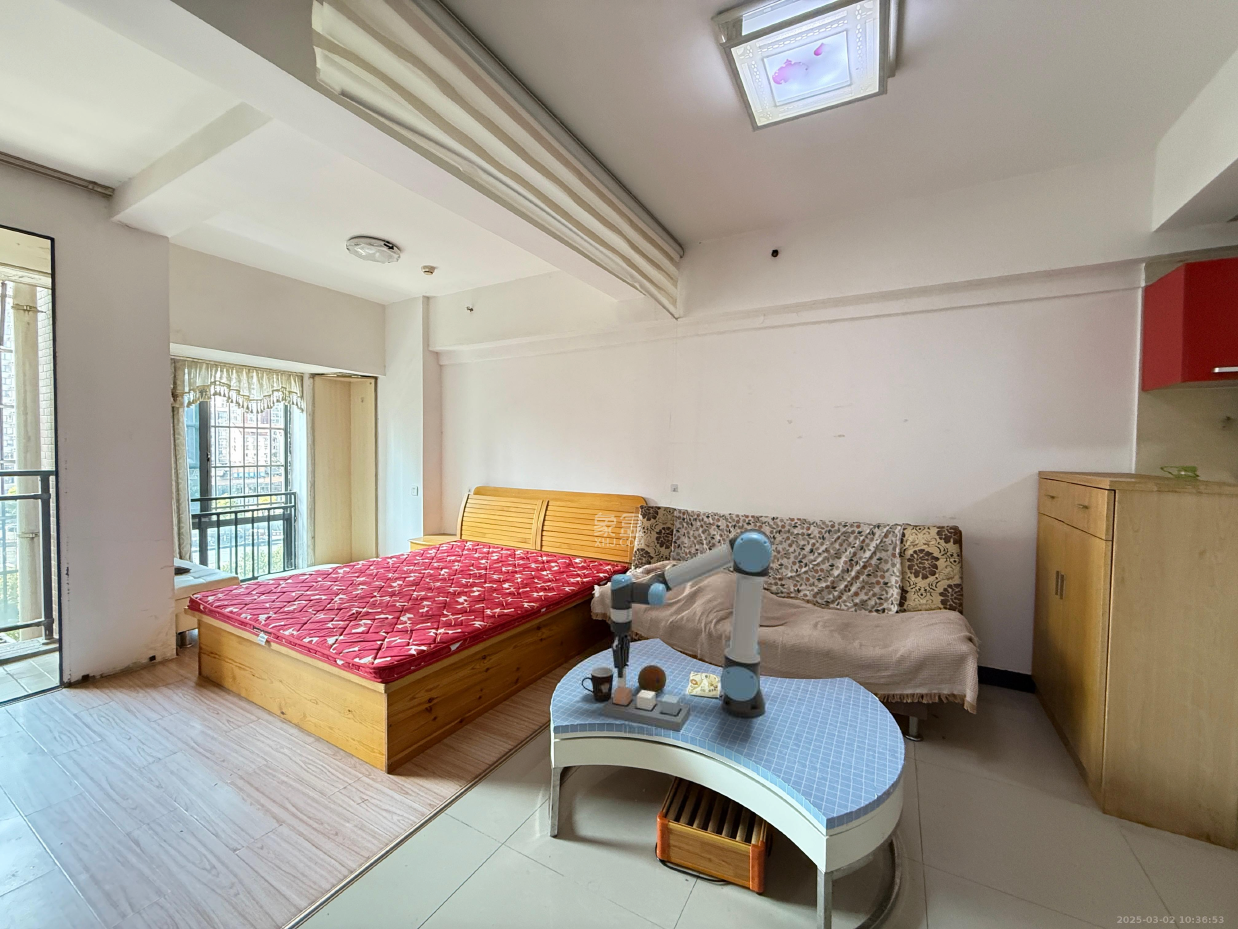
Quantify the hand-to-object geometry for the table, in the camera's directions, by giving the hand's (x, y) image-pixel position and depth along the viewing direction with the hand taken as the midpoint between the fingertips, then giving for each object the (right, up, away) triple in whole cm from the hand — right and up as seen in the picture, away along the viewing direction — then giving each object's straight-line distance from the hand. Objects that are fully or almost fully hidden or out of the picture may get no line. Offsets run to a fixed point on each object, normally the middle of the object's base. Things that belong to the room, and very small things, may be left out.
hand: (621, 685), depth 179 cm
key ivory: (+9, -5, -4) cm, 11 cm away
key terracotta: (0, -5, 0) cm, 5 cm away
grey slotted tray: (+9, -9, -4) cm, 13 cm away
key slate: (+17, -5, -7) cm, 19 cm away
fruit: (+11, -9, +15) cm, 21 cm away
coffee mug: (-9, -9, +9) cm, 16 cm away
